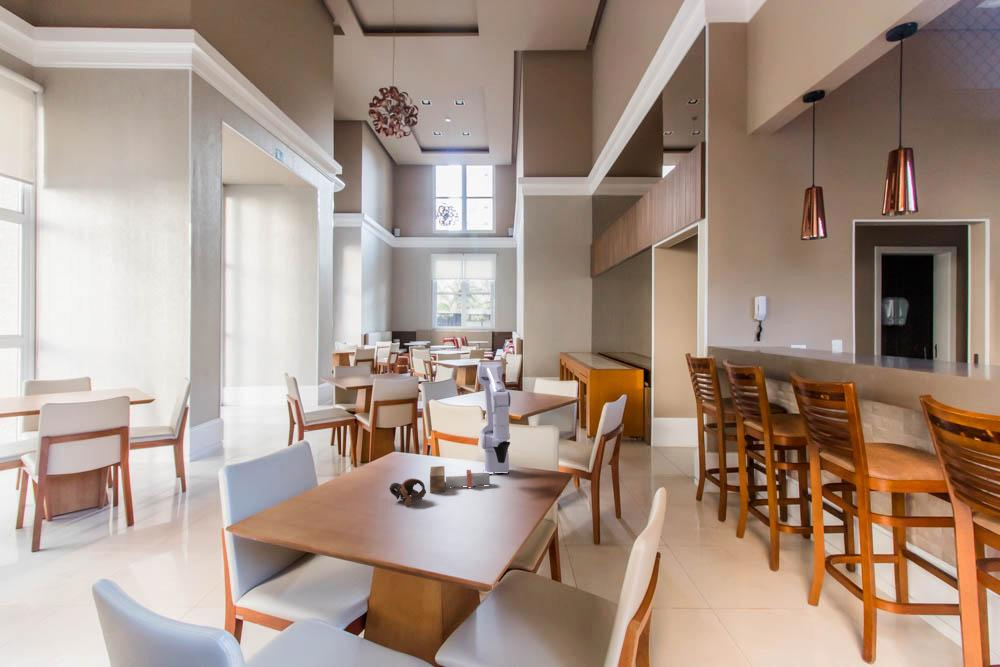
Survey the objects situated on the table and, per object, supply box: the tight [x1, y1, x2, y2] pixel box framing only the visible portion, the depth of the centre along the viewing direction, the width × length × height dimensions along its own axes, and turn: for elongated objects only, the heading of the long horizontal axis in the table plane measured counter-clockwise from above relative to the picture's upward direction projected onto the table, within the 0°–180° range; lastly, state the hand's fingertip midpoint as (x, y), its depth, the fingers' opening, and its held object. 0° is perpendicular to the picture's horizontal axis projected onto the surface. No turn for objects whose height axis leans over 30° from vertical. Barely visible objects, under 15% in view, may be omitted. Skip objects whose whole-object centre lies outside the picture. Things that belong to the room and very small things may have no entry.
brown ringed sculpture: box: [388, 478, 427, 507], centre depth 155 cm, size 12×9×8 cm
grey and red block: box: [445, 469, 491, 489], centre depth 171 cm, size 16×6×5 cm, turn 97°
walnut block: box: [429, 465, 446, 494], centre depth 169 cm, size 5×12×6 cm, turn 7°
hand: (501, 462), depth 172 cm, fingers closed
